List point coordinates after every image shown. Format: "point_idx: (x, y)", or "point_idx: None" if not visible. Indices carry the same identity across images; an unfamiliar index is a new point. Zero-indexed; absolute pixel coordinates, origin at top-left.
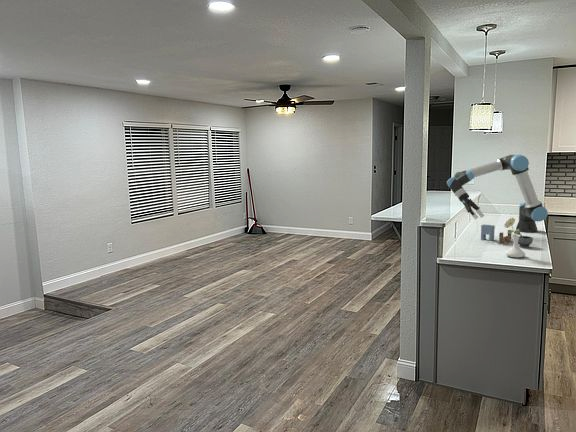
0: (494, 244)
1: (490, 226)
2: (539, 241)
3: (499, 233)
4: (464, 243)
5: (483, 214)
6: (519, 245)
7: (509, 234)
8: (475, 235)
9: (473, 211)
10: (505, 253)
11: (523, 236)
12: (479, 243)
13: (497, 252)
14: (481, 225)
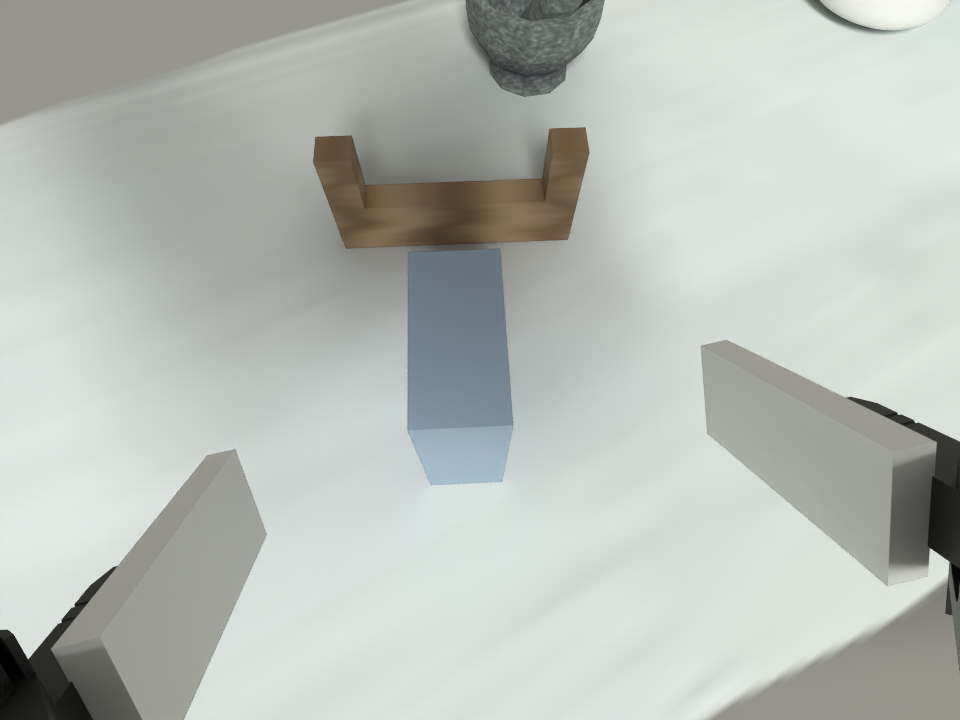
0: (623, 255)
1: (501, 273)
2: (211, 78)
3: (587, 158)
4: None
5: (193, 475)
6: (553, 77)
7: (361, 180)
8: (276, 704)
9: (883, 417)
10: (942, 12)
11: (487, 5)
12: None
13: (876, 110)
14: (512, 424)
